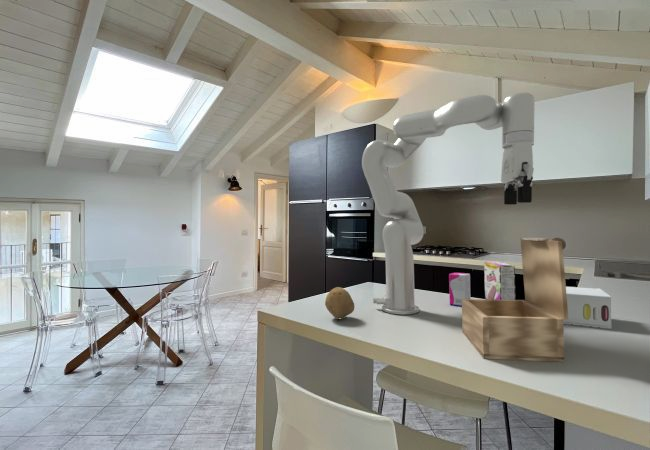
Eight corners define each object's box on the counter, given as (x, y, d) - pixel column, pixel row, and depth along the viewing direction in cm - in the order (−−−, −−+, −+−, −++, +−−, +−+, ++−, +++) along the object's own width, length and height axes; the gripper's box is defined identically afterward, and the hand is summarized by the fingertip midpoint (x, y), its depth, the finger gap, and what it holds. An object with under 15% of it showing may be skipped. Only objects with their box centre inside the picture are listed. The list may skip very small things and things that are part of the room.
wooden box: (483, 358, 72) (482, 317, 72) (462, 332, 89) (461, 299, 89) (564, 361, 69) (563, 319, 69) (526, 334, 87) (525, 300, 87)
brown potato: (320, 316, 107) (320, 286, 107) (345, 313, 111) (344, 283, 111) (332, 324, 99) (331, 290, 99) (358, 320, 102) (357, 288, 102)
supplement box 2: (539, 321, 98) (538, 290, 98) (536, 311, 110) (535, 283, 110) (612, 329, 90) (612, 295, 90) (601, 318, 101) (600, 287, 101)
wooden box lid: (549, 240, 69) (589, 237, 68) (513, 237, 88) (544, 235, 86) (556, 319, 69) (596, 318, 68) (518, 300, 87) (550, 299, 86)
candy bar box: (484, 308, 114) (483, 261, 114) (498, 308, 114) (497, 261, 114) (500, 317, 103) (499, 265, 103) (516, 317, 103) (515, 264, 103)
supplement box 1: (471, 304, 120) (470, 273, 120) (465, 307, 116) (464, 275, 116) (455, 302, 124) (454, 272, 124) (449, 305, 120) (448, 273, 120)
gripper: (492, 148, 99) (492, 205, 99) (515, 133, 82) (514, 201, 82) (520, 147, 98) (519, 205, 98) (548, 132, 81) (547, 201, 81)
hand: (517, 203), depth 90 cm, fingers open, 9 cm apart
